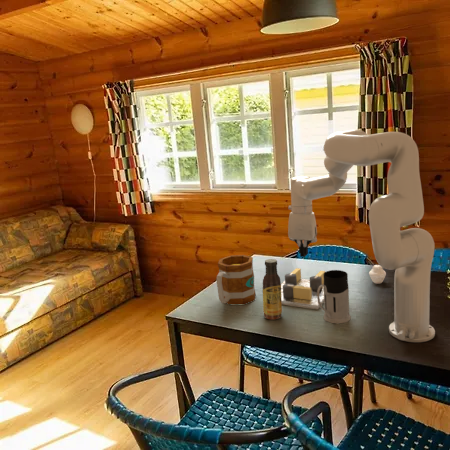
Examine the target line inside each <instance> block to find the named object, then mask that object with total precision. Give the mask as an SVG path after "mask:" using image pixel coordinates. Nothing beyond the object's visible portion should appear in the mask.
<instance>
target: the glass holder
mask: <svg viewBox="0 0 450 450" xmlns="http://www.w3.org/2000/svg"><path fill="white" fill-rule="evenodd" d="M348 275H349V274H348V272H347V271H344V270H341V269H340V270H339V269H332V270H328V271H327V270H326V271H325V273H324V285H320V286H319V288H318V290H317V299H318V303H319V306H320V308H319V309H322V310H323V312H324V314H323V320H324V321H326V322H328V323H332V324H344V323H347V322H349V321H350V320H351V319H352V316H351V314H350V299H349V298H350V296H349V295H350V293H349V292H350V290H349V289H350V288H349V281H348ZM322 286H324V303H323V304H324V305H323V304H322V305H321V303H320V298H319V292H320V289H321V287H322Z"/></svg>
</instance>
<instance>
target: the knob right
mask: <svg viewBox="0 0 450 450" xmlns="http://www.w3.org/2000/svg"><path fill="white" fill-rule="evenodd" d="M325 272H326V271H325V270H320V271H319V272H318V273H316V275H315V276H310V277H309V280H310V288H311V290H315V291H317V290H318V288H319V286H320V285H322V284H323V283H324V273H325ZM321 289H322V287H321ZM321 289H320V290H321Z"/></svg>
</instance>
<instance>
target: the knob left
mask: <svg viewBox="0 0 450 450" xmlns="http://www.w3.org/2000/svg"><path fill="white" fill-rule="evenodd" d="M300 279H302V269H301V268H298V267H296V268H295V269H293V271H291V272H290V273H286V274H284V281H285V284H294V285H295V286H296V285H297V282H298V281H299V280H300Z"/></svg>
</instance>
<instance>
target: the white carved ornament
mask: <svg viewBox="0 0 450 450" xmlns="http://www.w3.org/2000/svg"><path fill="white" fill-rule="evenodd" d="M368 275H369V277H370V279H371V281H372V282H373V284H382V283H383V281H384V280H385V278H386V275H387V272H386V271H385V270H384V268H383V267H381V266H380V265H379V264H374V265H373V266H372V268H371V270H370V271H369V272H368Z"/></svg>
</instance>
